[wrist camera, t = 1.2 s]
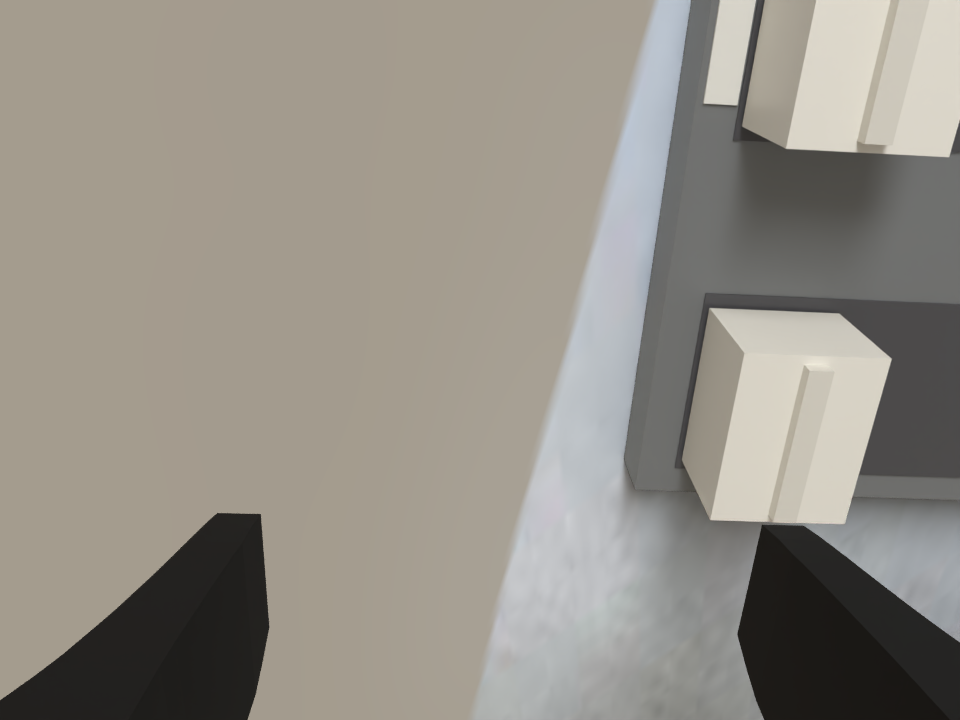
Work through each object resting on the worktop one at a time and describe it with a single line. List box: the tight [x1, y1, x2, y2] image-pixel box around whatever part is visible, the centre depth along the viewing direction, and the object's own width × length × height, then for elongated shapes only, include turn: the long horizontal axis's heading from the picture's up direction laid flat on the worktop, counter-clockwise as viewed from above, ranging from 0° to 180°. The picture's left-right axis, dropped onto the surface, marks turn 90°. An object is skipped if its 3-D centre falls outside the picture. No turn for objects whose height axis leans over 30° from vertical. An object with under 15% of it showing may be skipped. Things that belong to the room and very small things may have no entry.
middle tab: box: [742, 0, 960, 157], centre depth 15 cm, size 4×3×3 cm
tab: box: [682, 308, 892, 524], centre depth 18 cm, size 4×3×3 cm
